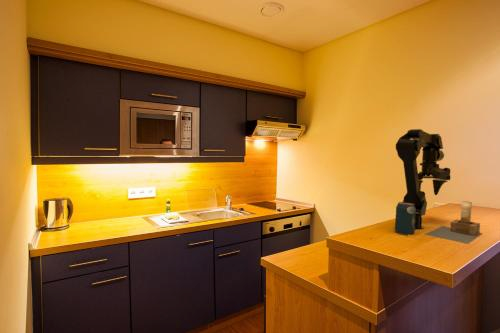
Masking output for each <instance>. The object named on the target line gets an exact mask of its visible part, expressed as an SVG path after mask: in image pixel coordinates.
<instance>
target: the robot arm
mask: <svg viewBox="0 0 500 333" xmlns="http://www.w3.org/2000/svg"><path fill="white" fill-rule="evenodd" d="M406 132H407V133H405V134H403V135H402V136H400V137H399V139H398V140H397V142H396V143H395V150H396V153H397V156H398V158H399V159H400V160H401V162H402V163H403V170H404V171H403V172H404V177H405V187H406V193H405V195H404V197H403V200H402V202H407V203H413V204H414V206H415V208H416V216H415V230H424V227H422V223H423V222H422V221H423V216H425V215H426V212H427V206H428V201H427V197H426V192H425V191H421V190H422V189H421V188H422V183H423V182H424V180H423V179H432V186H433V194H434V196H437V195H439V192H440V189H441V188H442V186H443V185H444V184H445V183H448V182H449V181H451V168H449V167H444V168H442V167H440V164H439V163H437V162H440V161H442V160H443V159H444V157H445V153H444V152H443V149H444V145H443V140H442V136H441V135H440V134H439V133H428V132H426V131H424V130H423V129H421V128H417V129H416V128H415V129H412V128H411V129H409V130H407V131H406ZM421 151H422V156H421V157H422V159H421V162H420V163H419V166H421V171H419V172H418V163H417V158H418V157H419V155H420V153H421Z"/></svg>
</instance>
